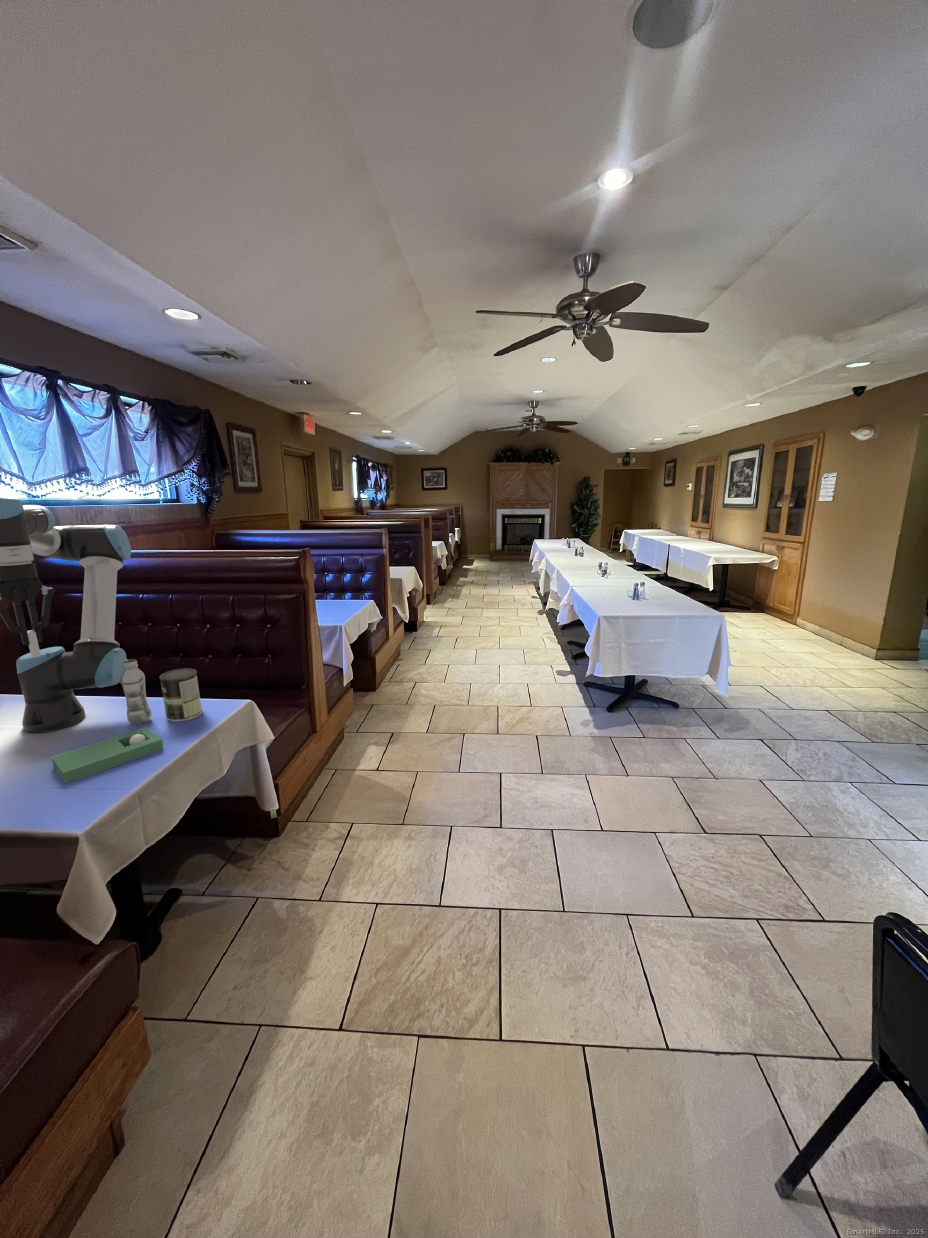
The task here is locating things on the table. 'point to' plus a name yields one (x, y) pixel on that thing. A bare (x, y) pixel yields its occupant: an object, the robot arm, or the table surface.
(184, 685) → the coffee can
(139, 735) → the ball
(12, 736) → the table surface
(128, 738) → the green
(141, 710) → the plastic bottle
